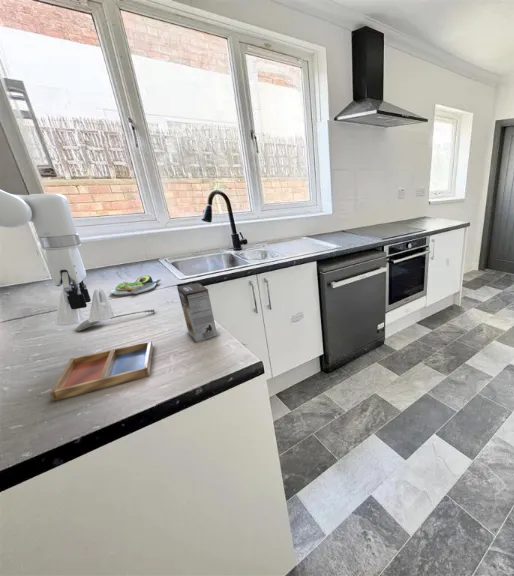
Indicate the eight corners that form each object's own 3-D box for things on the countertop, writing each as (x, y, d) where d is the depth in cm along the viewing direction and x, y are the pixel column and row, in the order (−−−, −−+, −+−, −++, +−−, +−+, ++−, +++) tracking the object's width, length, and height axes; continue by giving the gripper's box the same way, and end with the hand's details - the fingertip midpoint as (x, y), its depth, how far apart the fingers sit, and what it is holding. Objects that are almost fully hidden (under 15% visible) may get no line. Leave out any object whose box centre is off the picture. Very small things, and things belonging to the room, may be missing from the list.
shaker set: (56, 330, 85) (43, 292, 82) (60, 325, 88) (47, 288, 85) (113, 320, 92) (102, 285, 88) (114, 315, 95) (104, 281, 91)
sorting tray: (53, 401, 70) (49, 392, 69) (73, 366, 84) (70, 358, 83) (149, 376, 79) (146, 368, 78) (153, 347, 93) (151, 340, 92)
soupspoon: (78, 328, 106) (76, 336, 102) (74, 319, 105) (72, 327, 100) (154, 309, 119) (156, 315, 114) (152, 301, 118) (153, 307, 113)
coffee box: (187, 332, 101) (176, 286, 96) (208, 326, 106) (199, 282, 100) (196, 342, 95) (184, 293, 90) (218, 335, 100) (208, 288, 94)
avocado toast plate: (156, 293, 136) (153, 283, 135) (104, 300, 129) (101, 290, 127) (163, 281, 153) (160, 272, 151) (117, 286, 145) (114, 277, 144)
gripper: (51, 238, 87) (71, 298, 93) (28, 248, 74) (53, 318, 80) (86, 236, 91) (104, 294, 97) (71, 245, 78) (92, 312, 83)
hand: (81, 304), depth 88 cm, fingers closed on shaker set, 4 cm apart
